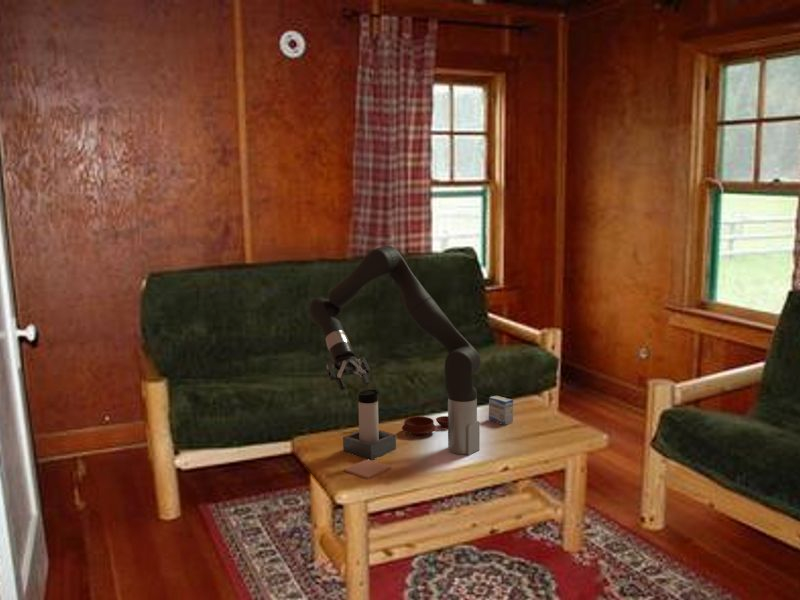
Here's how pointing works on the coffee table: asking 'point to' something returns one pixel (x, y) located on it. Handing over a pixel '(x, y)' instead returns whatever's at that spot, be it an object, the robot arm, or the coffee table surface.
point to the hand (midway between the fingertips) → (355, 387)
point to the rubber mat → (367, 468)
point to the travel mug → (368, 416)
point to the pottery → (423, 425)
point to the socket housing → (369, 445)
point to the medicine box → (500, 410)
